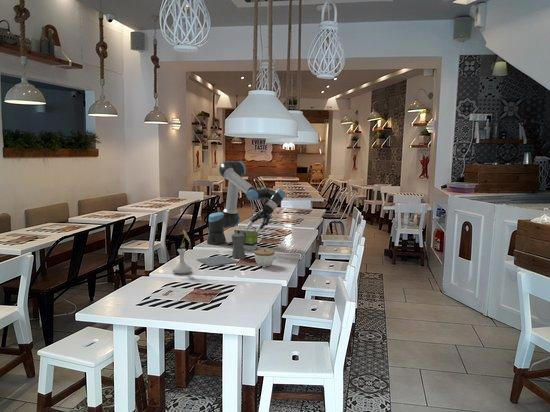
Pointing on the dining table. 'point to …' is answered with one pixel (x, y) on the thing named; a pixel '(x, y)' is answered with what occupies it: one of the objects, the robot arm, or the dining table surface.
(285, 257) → the dining table surface
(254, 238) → the tea box
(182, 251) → the flower in vase
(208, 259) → the mat
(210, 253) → the dining table surface
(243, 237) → the coffeepot
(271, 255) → the lidded bowl
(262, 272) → the dining table surface
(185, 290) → the dining table surface
